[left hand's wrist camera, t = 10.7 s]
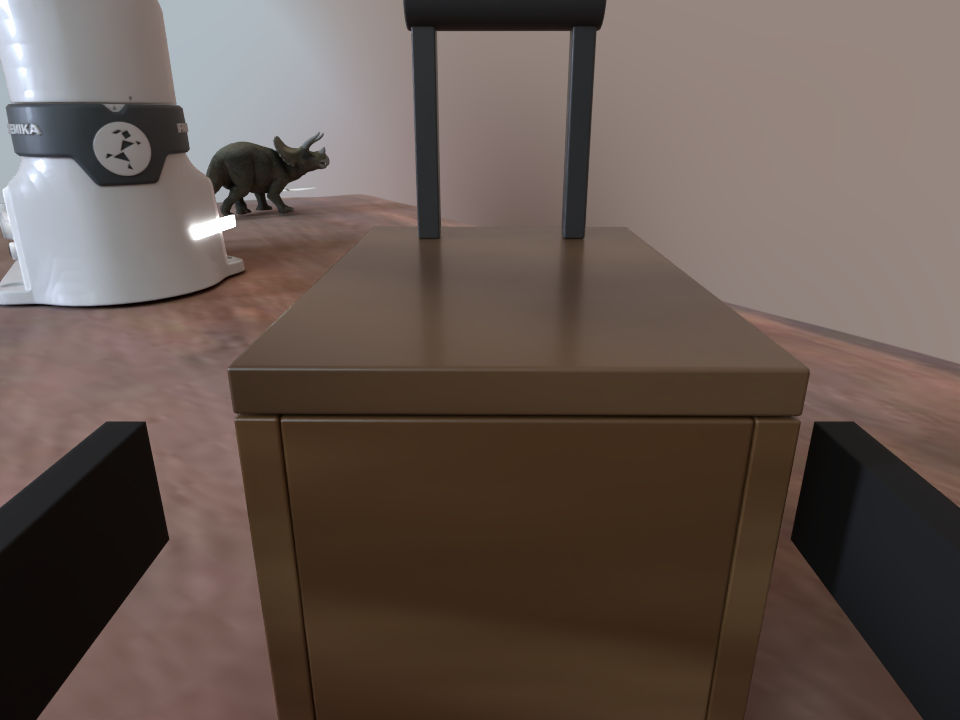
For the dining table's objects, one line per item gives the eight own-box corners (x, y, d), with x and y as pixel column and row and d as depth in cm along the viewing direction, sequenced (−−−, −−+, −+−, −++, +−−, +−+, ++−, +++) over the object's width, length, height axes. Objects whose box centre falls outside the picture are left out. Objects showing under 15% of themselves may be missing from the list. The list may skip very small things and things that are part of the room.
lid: (374, 249, 24) (358, -23, 21) (625, 249, 24) (646, -23, 21) (232, 415, 10) (129, -276, 7) (803, 418, 10) (938, -281, 7)
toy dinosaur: (184, 225, 84) (169, 133, 80) (164, 218, 90) (150, 132, 86) (336, 211, 97) (330, 131, 93) (310, 205, 103) (303, 130, 99)
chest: (384, 466, 26) (372, 253, 23) (610, 467, 26) (627, 253, 23) (288, 796, 13) (231, 418, 10) (729, 801, 13) (802, 421, 10)
